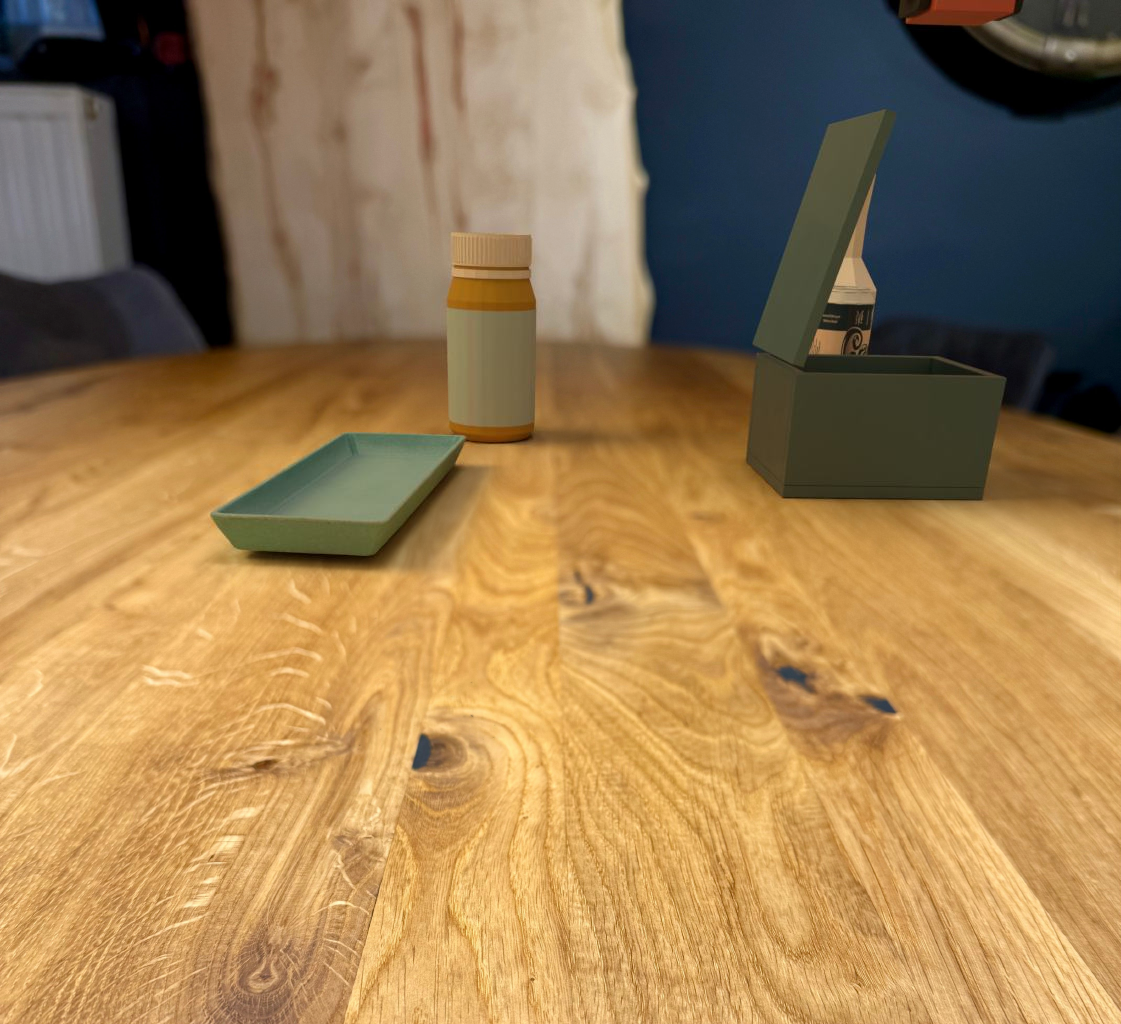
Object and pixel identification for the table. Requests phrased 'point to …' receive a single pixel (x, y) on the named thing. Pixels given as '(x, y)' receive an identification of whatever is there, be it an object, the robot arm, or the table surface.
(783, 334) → the lid
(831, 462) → the chest
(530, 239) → the bottle
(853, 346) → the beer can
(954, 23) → the block
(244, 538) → the teal serving tray
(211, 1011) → the table surface
